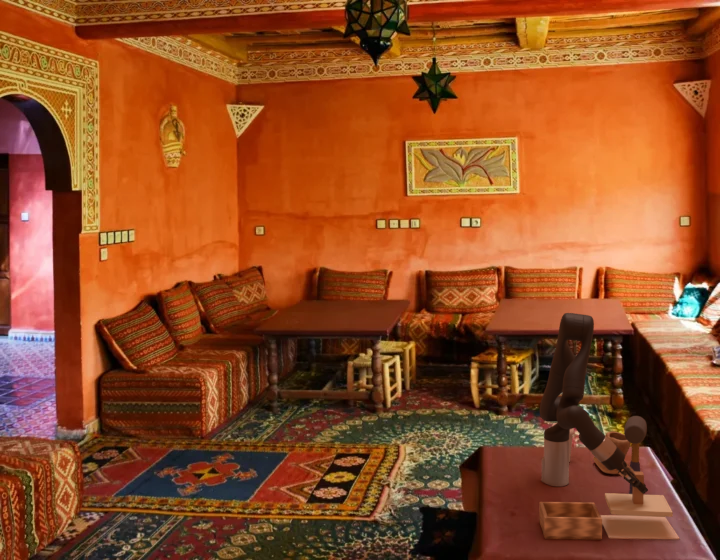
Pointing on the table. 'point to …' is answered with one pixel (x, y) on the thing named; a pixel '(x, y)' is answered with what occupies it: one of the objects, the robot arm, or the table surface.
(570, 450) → the coffee cup
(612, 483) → the table surface
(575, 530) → the wooden box
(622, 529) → the mat
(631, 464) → the rubber mallet
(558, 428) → the robot arm
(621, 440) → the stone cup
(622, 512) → the lid
